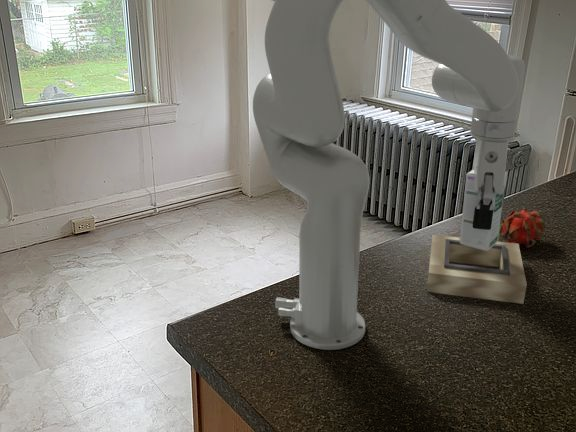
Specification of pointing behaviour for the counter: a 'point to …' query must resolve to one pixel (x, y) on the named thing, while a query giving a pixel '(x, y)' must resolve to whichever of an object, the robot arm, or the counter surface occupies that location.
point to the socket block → (476, 270)
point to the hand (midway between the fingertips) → (480, 219)
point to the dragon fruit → (523, 227)
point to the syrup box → (469, 234)
